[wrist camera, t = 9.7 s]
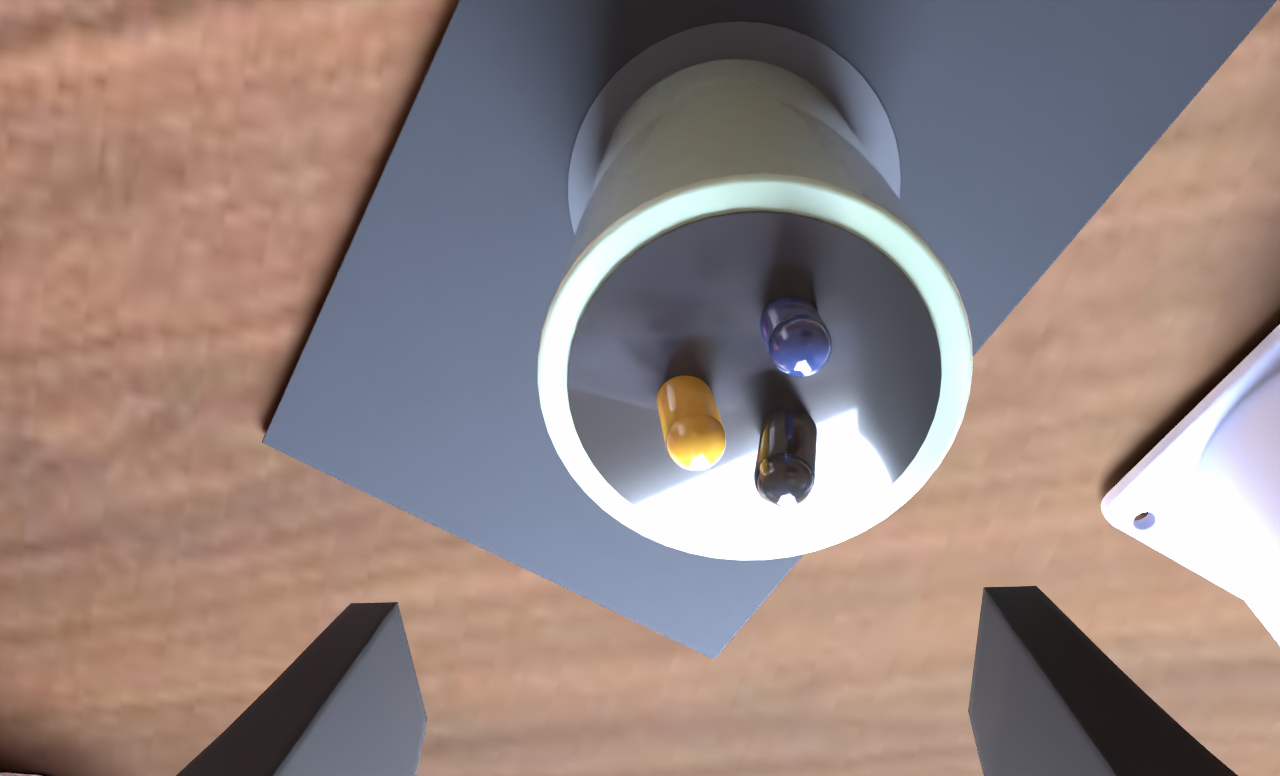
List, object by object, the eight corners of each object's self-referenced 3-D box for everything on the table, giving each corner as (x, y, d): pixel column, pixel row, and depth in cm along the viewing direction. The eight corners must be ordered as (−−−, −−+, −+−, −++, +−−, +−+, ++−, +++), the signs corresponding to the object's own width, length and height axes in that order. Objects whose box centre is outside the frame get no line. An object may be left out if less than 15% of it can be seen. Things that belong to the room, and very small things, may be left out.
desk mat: (1399, -155, 16) (1413, -157, 16) (713, 652, 25) (714, 660, 25) (764, -677, 13) (767, -691, 13) (266, 436, 23) (260, 443, 22)
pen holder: (917, 150, 18) (1120, 381, 10) (765, 358, 21) (817, 697, 12) (685, 2, 17) (675, 108, 9) (552, 238, 20) (437, 514, 11)
